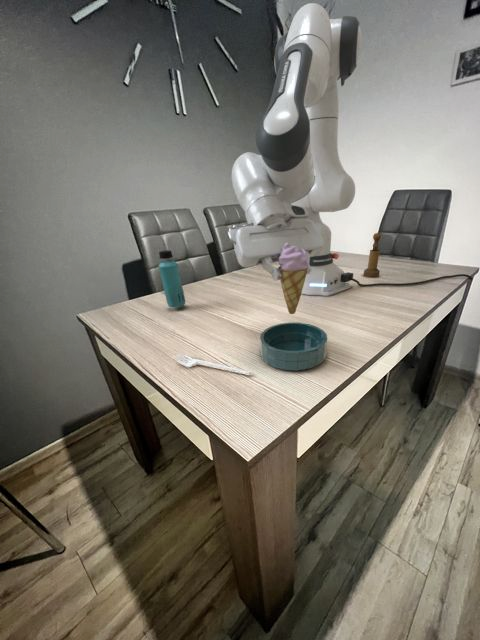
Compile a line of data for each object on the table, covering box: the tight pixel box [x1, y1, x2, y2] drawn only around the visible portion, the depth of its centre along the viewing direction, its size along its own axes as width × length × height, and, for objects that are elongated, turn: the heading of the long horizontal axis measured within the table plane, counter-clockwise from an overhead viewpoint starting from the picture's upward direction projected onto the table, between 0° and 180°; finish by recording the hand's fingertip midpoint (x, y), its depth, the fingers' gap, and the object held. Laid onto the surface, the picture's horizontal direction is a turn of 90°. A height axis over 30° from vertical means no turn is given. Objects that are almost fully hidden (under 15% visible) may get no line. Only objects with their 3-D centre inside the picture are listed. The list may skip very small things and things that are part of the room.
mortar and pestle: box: [363, 232, 382, 279], centre depth 119 cm, size 7×6×18 cm
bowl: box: [259, 322, 328, 371], centre depth 65 cm, size 16×16×5 cm
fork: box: [172, 351, 251, 376], centre depth 63 cm, size 3×20×2 cm, turn 66°
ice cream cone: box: [277, 243, 309, 315], centre depth 58 cm, size 7×6×15 cm
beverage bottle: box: [158, 249, 186, 308], centre depth 94 cm, size 6×7×20 cm
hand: (293, 275), depth 57 cm, fingers closed on ice cream cone, 6 cm apart
